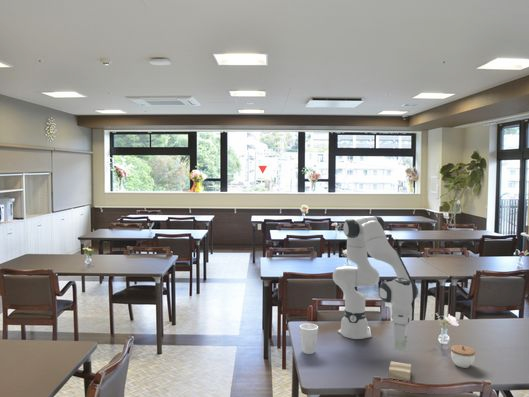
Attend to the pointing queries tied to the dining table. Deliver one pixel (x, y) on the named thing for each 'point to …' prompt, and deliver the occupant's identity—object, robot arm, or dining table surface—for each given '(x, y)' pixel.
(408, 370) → the oak base
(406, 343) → the green cube
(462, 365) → the lidded jar
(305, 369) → the dining table surface
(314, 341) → the foam cup
